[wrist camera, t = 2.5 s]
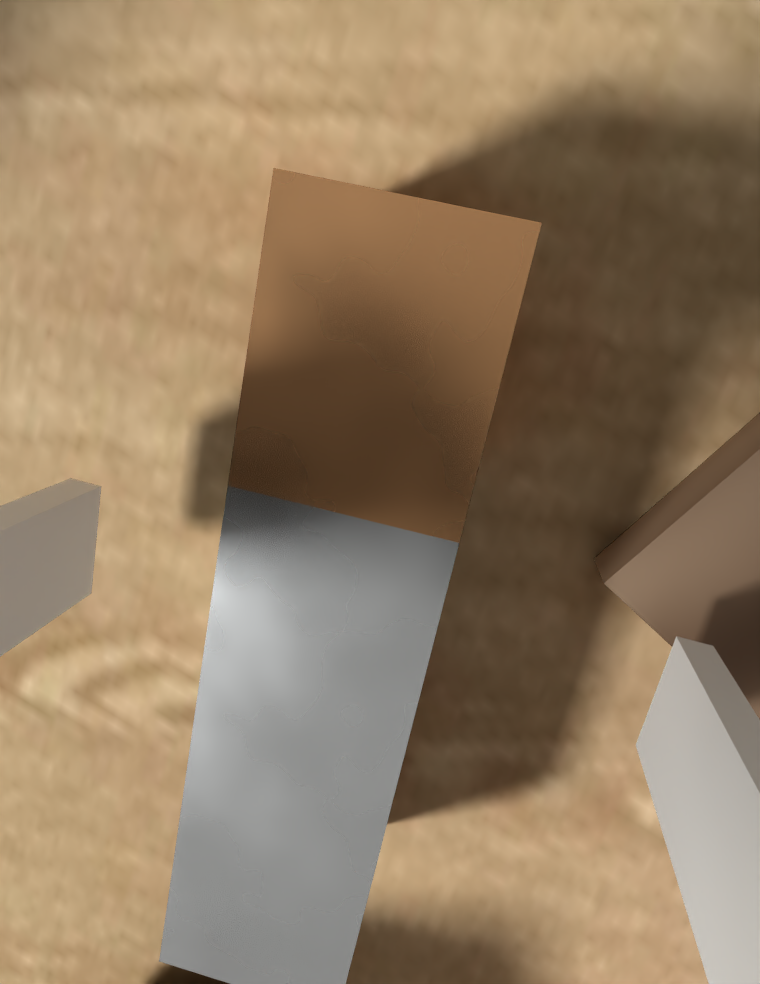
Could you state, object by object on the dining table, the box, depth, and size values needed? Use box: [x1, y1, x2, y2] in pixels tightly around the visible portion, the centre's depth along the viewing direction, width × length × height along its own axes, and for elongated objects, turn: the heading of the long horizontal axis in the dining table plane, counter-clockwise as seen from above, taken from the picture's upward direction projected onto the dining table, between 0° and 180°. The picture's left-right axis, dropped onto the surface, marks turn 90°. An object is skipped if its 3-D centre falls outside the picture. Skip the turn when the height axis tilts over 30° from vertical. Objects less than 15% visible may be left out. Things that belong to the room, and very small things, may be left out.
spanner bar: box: [159, 168, 542, 984], centre depth 15 cm, size 16×4×6 cm, turn 168°
